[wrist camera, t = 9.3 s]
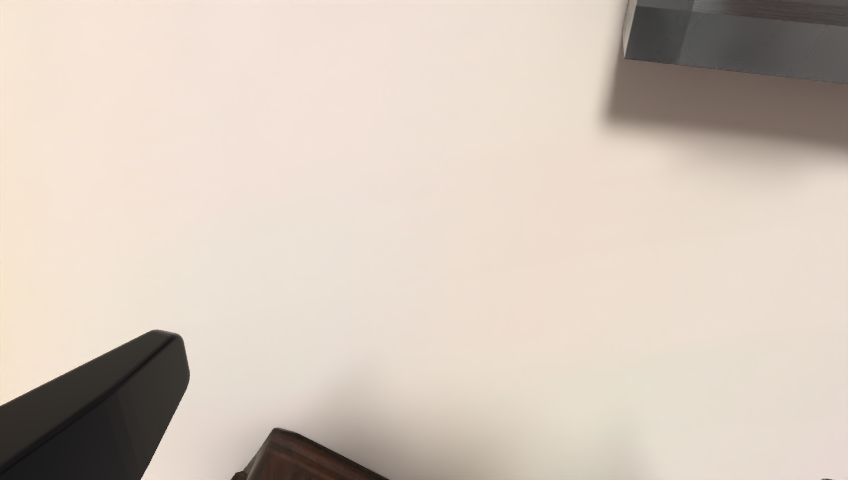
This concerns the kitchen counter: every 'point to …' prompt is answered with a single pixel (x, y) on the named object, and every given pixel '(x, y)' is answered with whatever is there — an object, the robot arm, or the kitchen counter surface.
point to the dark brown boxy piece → (300, 461)
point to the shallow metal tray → (742, 36)
